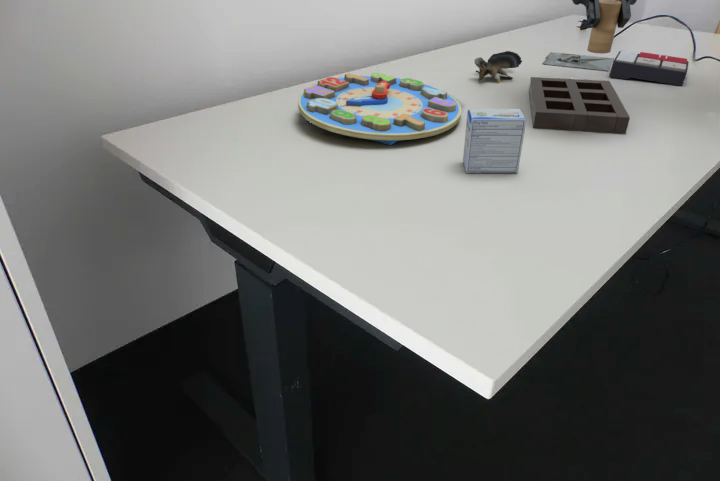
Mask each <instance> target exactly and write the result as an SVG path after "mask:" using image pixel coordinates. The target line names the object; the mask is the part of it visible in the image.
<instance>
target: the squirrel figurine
mask: <svg viewBox="0 0 720 481" xmlns="http://www.w3.org/2000/svg"><path fill="white" fill-rule="evenodd" d="M473 61H474V64H475V66H476V67H477V68H478V69H479V70H475V73H477V74H478V80H477V82H478V83H480V82H481V81H482V80H483V79H484V78H485V77H486V76H487V75H490V76H491V77H492V78H494V79H495V81H497V83H498V84H500V83H501V77H500V75H501V76H505V77H508V78H509V79H514V78H513V76H510V75H508V74H507V72H506V71H505V70H507V69H515V68H519V67H520V66H521V64H522V63H523V60H522V58H521V56H520V55H519V53H516V52H514V51H511V50H505V51H502V52H498V53H493V54H492V55H490V57H489V58H488V59H487V61H486V60H484V58H483V57H481V56H480V57H476V58H474V60H473Z"/></svg>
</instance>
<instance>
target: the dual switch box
mask: <svg viewBox="0 0 720 481" xmlns="http://www.w3.org/2000/svg"><path fill="white" fill-rule="evenodd" d="M689 63H690V62H689V61H688V58H684V57H678V56H671V55H665V54H657V53H651V52H645V51H641V52H638V51H632V50H624V49H622V50H620V51H618V53H617V55H616V56H615V57H614V60H613V62H612V64H611V67H610V72H609V74H608V75H609V76H608V77H609V78H615V79H620V80H629V79H637V80H643V81H650V82H655V83H660V84H661V83H662V84H666V85H673V86H679V87H681V86H683V84H684V82H685V79H686V76H687V74H688V70H689Z"/></svg>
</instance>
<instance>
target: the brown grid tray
mask: <svg viewBox="0 0 720 481" xmlns="http://www.w3.org/2000/svg"><path fill="white" fill-rule="evenodd" d="M528 93H529V94H528V96H529V104H530V112H531V122H532V129H544V130H559V131H576V132H588V133H589V132H591V133H593V132H594V133H606V134H608V133H609V134H620V135H621V134H622V135H626V134H627V130H628V127H629V123H630V120H631V117H630V115H629V112H627V109H626V108H625V106H624V104H623V103H622V100H621V98H620V97H619V95H618V94H617V92H616V90H615V88H614V86H613V85H612V83H611V81H610V80H598V79H578V78H577V79H576V78H560V77H559V78H557V77H536V76H531V77H530V81H529V86H528Z"/></svg>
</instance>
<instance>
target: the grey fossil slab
mask: <svg viewBox="0 0 720 481" xmlns="http://www.w3.org/2000/svg"><path fill="white" fill-rule="evenodd" d="M614 59H615V57H607V56H606V57H604V56H594V55H586V54H585V55H583V54H575V53H574V54H573V53H564V52H553V51H550V52H549V53H548V55H547V56H546V57H545V60H544V61H543V62H542V65H550V66H558V67H567V68H578V69H579V68H580V69H588V70H597V71H607V72H608V71H609V69H611V67H612V64H613V61H614Z"/></svg>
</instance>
